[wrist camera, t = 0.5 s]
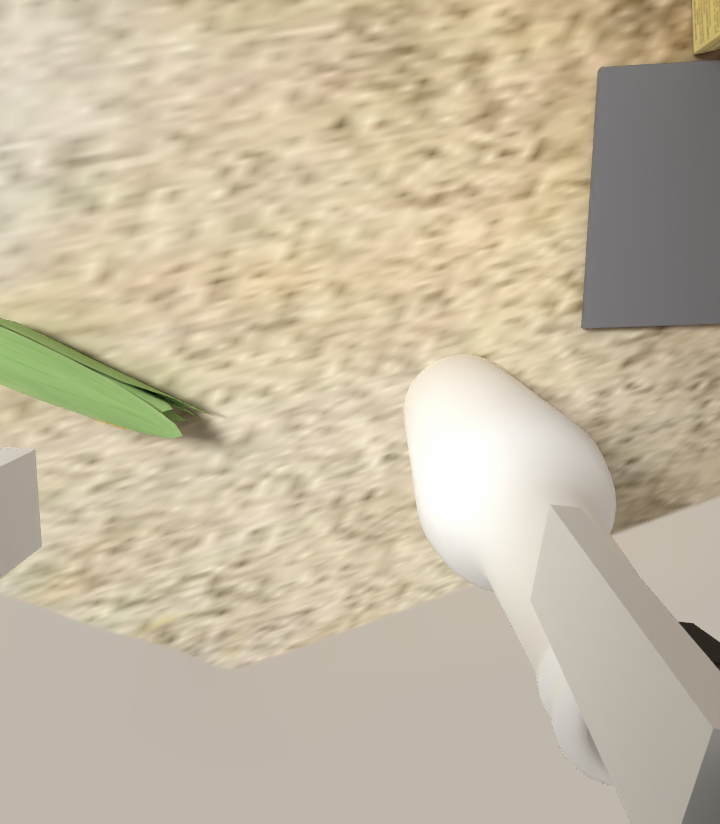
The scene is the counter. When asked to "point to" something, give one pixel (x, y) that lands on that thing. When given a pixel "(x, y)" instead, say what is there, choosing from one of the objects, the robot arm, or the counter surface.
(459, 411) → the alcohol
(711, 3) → the candy box
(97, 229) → the counter surface
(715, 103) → the rubber mat
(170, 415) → the edible corn
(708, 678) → the robot arm
